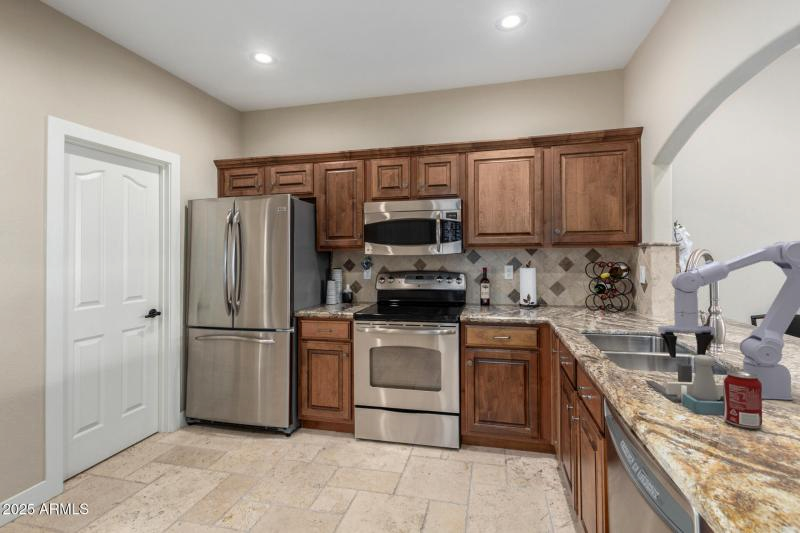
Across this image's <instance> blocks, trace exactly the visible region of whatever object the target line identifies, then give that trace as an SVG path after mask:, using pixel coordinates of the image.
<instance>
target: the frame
mask: <svg viewBox="0 0 800 533" xmlns="http://www.w3.org/2000/svg"><path fill="white" fill-rule="evenodd" d="M680 399H681V403H680V404H681V405H683V407H685V408H687V409H688V410H690V411H691V412H693V413H694V414H695V415H710V416H715V415H716V416H724V402H722V401H717V402H715V401H697V400H696V399H694V398H693V397H691V396H689V395H688V394H687V386H684V385H681V398H680Z"/></svg>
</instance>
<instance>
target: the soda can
mask: <svg viewBox="0 0 800 533" xmlns="http://www.w3.org/2000/svg"><path fill="white" fill-rule="evenodd" d="M722 380H723V382H722V384H723V396H724V415H723V419H724V421H725V422H727V423H729V425H731V426H734V427H737V428H741V429H744V430H745V429H746V430H755V429H759V428H761V427H763V399H762V384H761V382H760V381H759V380H758V375H756V374H754V373H750V372H745V371H743V370H736V369H735V370H733V369H732V370H727V371H726V374H725V376H724V377H723V379H722Z"/></svg>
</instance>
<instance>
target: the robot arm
mask: <svg viewBox="0 0 800 533" xmlns="http://www.w3.org/2000/svg"><path fill="white" fill-rule="evenodd" d="M761 262H772V263H773V264H774V265H776V266H777V267H778V268H780V269H781V270H782V272H783V273H784V275H785V277H786V279H785V281H784V283H783V284H782V286H781V288H780V290H779V291H778V293H777V294H776V297H775V298H774V299H773V302H772V304H771V305H770V307H769V309H768V310H767V312H766V314H765V315H764V317H763V319H762V321H761V322H760V324H759V326H758V327H756V328H755V329H754V330H752V331H751V332H750V334H749V335H748V336H747V337H746V338H744V339H742V340H741V342H740V344H739V351H740V353H741V354H742V355H743V356H744V358H743V359H742V368H743V369H742V371H745V372H750V373H754V374H756V375H758V380H759V381H760V382H761V384H762V400H763V399H764V400H765V399H766V400H785V401H786V400H790V401H793V400H794V398H793V397H792V375H791V372H790V371H789V370H790V369H788V367H787V366H785V365H784V364H780V361H781V360H782V358H783V347H784V346H785V341H784V335H785V333H786V332H787V330H788V329H789V326H790V325H791V323H792V321H793V319H794V318H795V316H796V315H797V313H798V311H799V310H800V240H793V241H778V242H775V243H772V244H767V245H764V246H760V247H757V248H754V249H752V250H750V251H748V252H747V251H746V252H745V253H742V254H740V255H738V256H735V257H733V258H731V259H728V260H725V261H719V260H713V261H712V260H706V261H704V264H702V265H700V266H696V267H694V268H693V267H689V268H687V271H686V272H684V271H683V272H678V273H677V274H675V275H674V276H673V278H672V280H671V281H670V283H671V286H672V287H673V288H674V291H673V292H674V296H673V302H674V303H673V305H674V307H673V309H674V310H673V312H674V313H673V314H674V324H673V325H658V328H657V329H658V331H657V332H658V333H660V336H661V338H662V339H663V341H664V343H665V344H666V348H667V352H668V354H669V357H671V358H673V359H674V358H675V359H676V357H677V342H678V336H677V335H675V334H694V335H695V340H696V355H706V353H707V350H708V347H709V346H710V344H711V342H712V340H714V335H716V327H715V326H706V325H699V298H698V290H699V289H700V287H705V286H707V285H711V284H713V283H717V282H719V281H722V280H725V279H726V278H728V275H729V274H730V272H733V271H737V270H740V269H742V268H746V267H749V266H752V265H755V264H758V263H761Z"/></svg>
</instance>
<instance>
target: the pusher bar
mask: <svg viewBox="0 0 800 533" xmlns="http://www.w3.org/2000/svg"><path fill="white" fill-rule="evenodd" d="M693 382H694V381H693V366H692V365H691V364H688V363H677V381H665V389H666V393H667V394H674V395H676V396H677V397H679V398H680V399H681V385H684V386H687V394H688V395H689V396H691V397H692V395H691V392H692V387H693ZM715 384H716V388H717V392H718V400H719V401H721V400H720V396H723V382H722V383H721V382H720V383H717V382H715Z"/></svg>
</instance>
